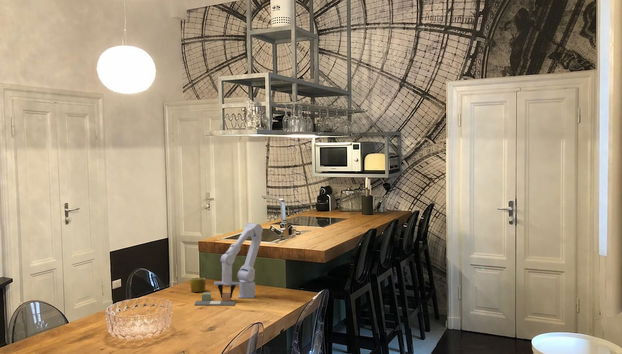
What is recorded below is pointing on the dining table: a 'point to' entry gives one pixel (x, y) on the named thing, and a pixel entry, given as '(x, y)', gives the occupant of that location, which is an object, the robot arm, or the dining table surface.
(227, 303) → the baseplate
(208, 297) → the green brick
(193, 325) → the dining table surface
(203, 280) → the mug
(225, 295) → the terracotta brick
